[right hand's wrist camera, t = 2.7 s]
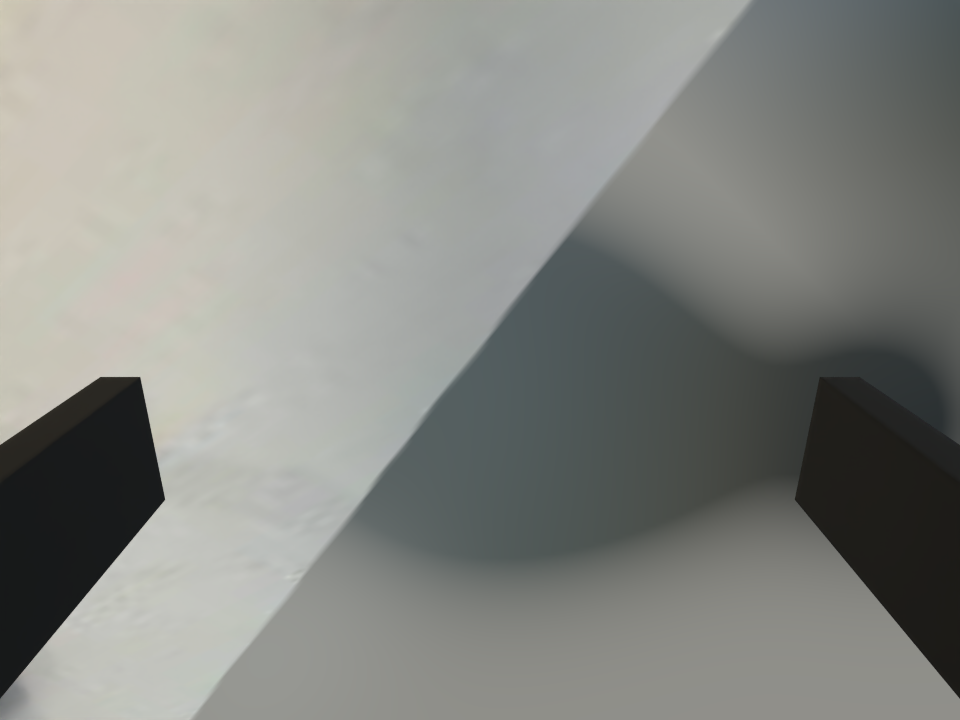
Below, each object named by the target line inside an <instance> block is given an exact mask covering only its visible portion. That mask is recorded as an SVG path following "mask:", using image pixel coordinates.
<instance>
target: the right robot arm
mask: <svg viewBox="0 0 960 720" xmlns="http://www.w3.org/2000/svg"><path fill="white" fill-rule="evenodd" d="M164 500H165V497H164V492H163V487H162V482H161V477H160V472H159V467H158V462H157V457H156V453H155V448H154V443H153V438H152V433H151V428H150V423H149V418H148V413H147V408H146V403H145V399H144V394H143V389H142V384H141V379H140V377H100V378H98V379H97V380H96V381H94V382H93V383H91V384H90V385H88V386H87V387H85V388H84V389H82V390H81V391H79V392H78V393H76V394H75V395H73V396H72V397H70V398H69V399H67V400H66V401H65V402H63V403H62V404H60V405H59V406H57V407H56V408H54V409H53V410H51V411H50V412H48V413H47V414H45V415H44V416H42V417H41V418H39V419H38V420H36V421H35V422H34V423H32V424H31V425H29V426H28V427H26V428H25V429H23V430H22V431H20V432H19V433H17V434H16V435H14V436H13V437H11V438H10V439H8V440H7V441H5V442H4V443H3V444H1V445H0V698H1V697H2V696H3V695H4V693H5V692H6V691H7V690H8V688H9V687H10V686H11V685H12V684H13V682H14V681H15V680H16V679H17V678H18V676H19V675H20V674H21V673H22V672H23V670H24V669H25V668H26V667H27V666H28V664H29V663H30V662H31V661H32V660H33V658H34V657H35V656H36V655H37V654H38V652H39V651H40V650H41V649H42V647H43V646H44V645H45V644H46V643H47V641H48V640H49V639H50V638H51V637H52V635H53V634H54V633H55V632H56V631H57V629H58V628H59V627H60V626H61V625H62V623H63V622H64V621H65V620H66V619H67V617H68V616H69V615H70V614H71V613H72V611H73V610H74V609H75V608H76V606H77V605H78V604H79V603H80V602H81V600H82V599H83V598H84V597H85V596H86V594H87V593H88V592H89V591H90V590H91V588H92V587H93V586H94V585H95V584H96V582H97V581H98V580H99V579H100V578H101V576H102V575H103V574H104V573H105V572H106V570H107V569H108V568H109V567H110V565H111V564H112V563H113V562H114V561H115V559H116V558H117V557H118V556H119V555H120V553H121V552H122V551H123V550H124V549H125V547H126V546H127V545H128V544H129V543H130V541H131V540H132V539H133V538H134V537H135V535H136V534H137V533H138V532H139V531H140V529H141V528H142V527H143V526H144V524H145V523H146V522H147V521H148V520H149V518H150V517H151V516H152V515H153V514H154V512H155V511H156V510H157V509H158V508H159V506H160V505H161V504H162V503H163V502H164ZM795 500H796V502H797V503H798V504H799V505H800V506H801V508H802V509H803V510H804V511H805V512H806V514H807V515H808V516H809V517H810V518H811V520H812V521H813V522H814V523H815V524H816V526H817V527H818V528H819V529H820V531H821V532H822V533H823V534H824V535H825V537H826V538H827V539H828V540H829V541H830V542H831V544H832V545H833V546H834V547H835V549H836V550H837V551H838V552H839V553H840V555H841V556H842V557H843V558H844V559H845V561H846V562H847V563H848V564H849V565H850V567H851V568H852V569H853V570H854V572H855V573H856V574H857V575H858V576H859V578H860V579H861V580H862V581H863V582H864V584H865V585H866V586H867V587H868V588H869V590H870V591H871V592H872V593H873V594H874V596H875V597H876V598H877V599H878V600H879V602H880V603H881V604H882V605H883V606H884V608H885V609H886V610H887V611H888V613H889V614H890V615H891V616H892V617H893V619H894V620H895V621H896V622H897V623H898V625H899V626H900V627H901V628H902V629H903V631H904V632H905V633H906V634H907V635H908V637H909V638H910V639H911V640H912V641H913V643H914V644H915V645H916V646H917V647H918V649H919V650H920V651H921V652H922V653H923V655H924V656H925V657H926V658H927V660H928V661H929V662H930V663H931V664H932V666H933V667H934V668H935V669H936V670H937V672H938V673H939V674H940V675H941V676H942V678H943V679H944V680H945V681H946V682H947V684H948V685H949V686H950V687H951V688H952V690H953V691H954V692H955V693H956V694H957V696H958V697H959V698H960V445H959V444H957V443H956V442H954V441H953V440H952V439H950V438H949V437H947V436H946V435H944V434H943V433H941V432H940V431H938V430H937V429H935V428H934V427H932V426H931V425H929V424H928V423H926V422H925V421H924V420H922V419H921V418H919V417H918V416H916V415H915V414H913V413H912V412H910V411H909V410H907V409H906V408H904V407H903V406H901V405H900V404H898V403H897V402H895V401H894V400H892V399H891V398H890V397H888V396H887V395H885V394H884V393H882V392H881V391H879V390H878V389H876V388H875V387H873V386H872V385H870V384H869V383H867V382H866V381H864V380H863V379H862V378H860V377H820V379H819V384H818V389H817V394H816V399H815V403H814V409H813V413H812V418H811V423H810V428H809V433H808V438H807V443H806V448H805V452H804V457H803V462H802V467H801V472H800V477H799V482H798V487H797V492H796V497H795Z"/></svg>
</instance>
